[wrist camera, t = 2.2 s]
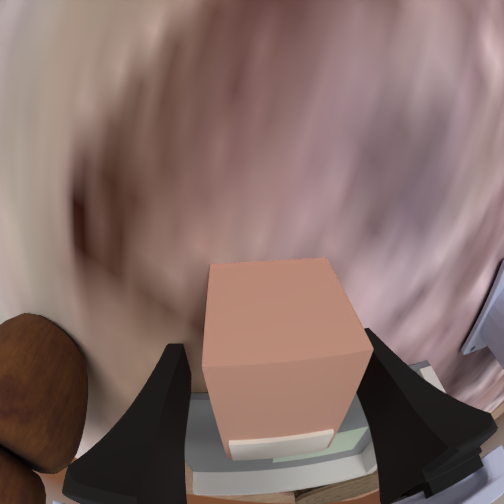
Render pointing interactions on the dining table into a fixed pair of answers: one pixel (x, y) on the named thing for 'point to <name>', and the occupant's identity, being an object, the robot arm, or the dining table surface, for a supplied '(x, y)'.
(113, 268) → the dining table surface
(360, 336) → the terracotta block
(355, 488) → the wooden log slice
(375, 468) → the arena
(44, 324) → the wooden figurine
